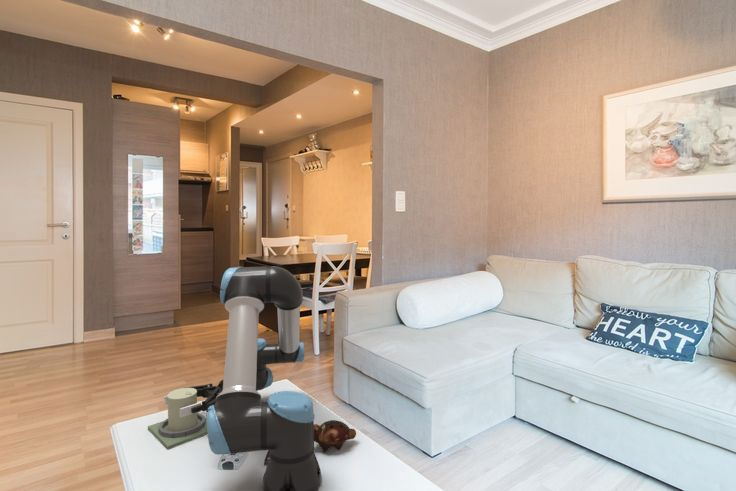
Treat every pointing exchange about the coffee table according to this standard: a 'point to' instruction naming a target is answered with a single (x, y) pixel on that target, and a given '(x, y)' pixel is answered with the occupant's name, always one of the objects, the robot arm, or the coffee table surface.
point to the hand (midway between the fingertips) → (171, 406)
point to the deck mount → (179, 437)
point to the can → (176, 402)
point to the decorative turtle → (332, 434)
